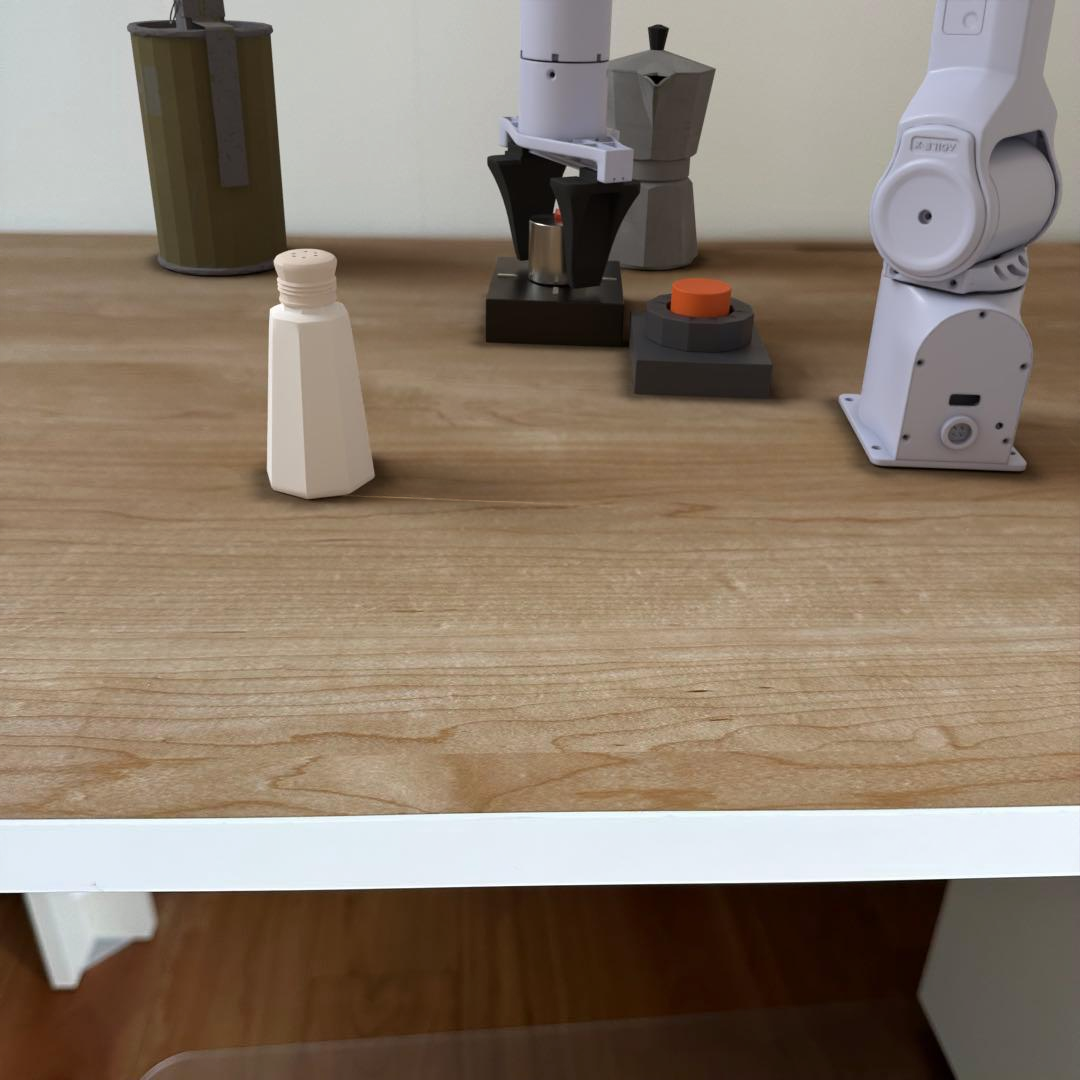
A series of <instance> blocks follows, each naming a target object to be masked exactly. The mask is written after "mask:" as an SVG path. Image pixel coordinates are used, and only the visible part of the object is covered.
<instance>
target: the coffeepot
mask: <svg viewBox="0 0 1080 1080" xmlns="http://www.w3.org/2000/svg"><path fill="white" fill-rule="evenodd" d="M647 32H648V44H649V49H647V50H643V51H639V52H635V53H632V54H628V55H625V56H621V57H617V58H614V59H609V80H608V99H607V119H606V127H608V128H612V129H615V130H618V131H620V136H619V141H618V142H620V143H621V144H622V145H624V146H626V147H629V148H632V149H633V150H634V155H633V170H632V179H635V180H638V181H640V183H641V187H640V194H639V195H638V196H637V198H636V199H635V201H634V202H633V204H632V205H631V207H630V208H629V210H628V212H627V213H626V215H625V217H624V219H623V221H622V223H621V225H620V227H619V230H618V232H617V234H616V237H615V240H614V243H613V245H612V248H611V252H610V255H609V258H608V261H620V268H623V269H630V270H640V271H641V270H645V271H646V270H647V271H658V270H659V271H662V270H672V269H673V270H674V269H678V268H683V267H686V266H688V265H690V264H692V263H693V262H694V259H695V258H696V257H698V256H699V250H698V237H697V226H696V225H697V223H696V211H695V199H694V198H695V197H694V183H693V181H692V180H691V178H690V177H689V176H690V170H691V169H690V167H691V158H693V157H694V156H695V155H696V154H698V149H699V145H700V140H701V135H702V131H703V127H704V122H705V119H706V114H707V110H708V105H709V101H710V97H711V92H712V87H713V83H714V79H715V76H716V75H715V74H716V71H717V69H716V67H713V66H710V65H708V64H704V63H702V62H699V61H696V60H693V59H690V58H687V57H685V56H682V55H680V54H676V53H673V52H670V51H668V50H665V47H666V43H667V39H668V35H669V32H670V27H668V26H666V25H663V24H659V23H658V24H656V23H655V24H654V25H650V26H648V27H647Z"/></svg>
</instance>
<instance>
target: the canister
mask: <svg viewBox="0 0 1080 1080" xmlns="http://www.w3.org/2000/svg"><path fill="white" fill-rule="evenodd" d="M225 10H226V9H225V2H224V0H173V3H172V6H171V9H170V12H169V19H154V20H153V19H151V20H141V21H134V22H128V24H127V25H126V30H127V32H129V36H130V41H131V42H130V43H131V49H132V55H133V56H132V57H133V64H134V71H135V79H136V87H137V93H138V101H139V109H140V115H141V125H142V131H143V138H144V146H145V153H146V161H147V167H148V168H147V169H148V176H149V185H150V191H151V197H152V205H153V212H154V219H155V220H154V221H155V226H156V228H155V229H156V234H157V235H156V236H157V241H158V251H159V253H158V254H157V262H158V263H159V265H160V266H161V267H163V268H164V269H167V270H170V271H172V272H176V273H179V274H186V275H193V276H227V277H228V276H236V275H237V276H238V275H246V274H254V273H261V272H265V271H270V270H273V269H275V266H274V259H275V258H276V256H277V255H279V254H281V253H283V252H286V251H289V250H290V249H289V247H288V242H287V229H286V228H287V227H286V217H285V216H286V215H285V203H284V189H283V188H284V187H283V177H282V165H281V164H282V163H281V151H280V139H279V137H280V136H279V126H278V124H279V123H278V110H277V99H276V98H277V97H276V87H275V73H274V72H275V71H274V60H273V59H274V58H273V47H272V34H273V32H274V28H273V25H272V24H269V23H266V22H259V21H250V20H249V21H248V20H229V19H228V20H227V19H226V11H225ZM173 11H174V13H173ZM172 15H173V17H172Z"/></svg>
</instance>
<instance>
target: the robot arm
mask: <svg viewBox="0 0 1080 1080" xmlns="http://www.w3.org/2000/svg"><path fill="white" fill-rule="evenodd" d="M1056 1H1057V0H935V8H934V15H933V23H932V24H933V25H932V31H931V39H930V46H929V54H928V62H927V68H926V74H925V77H924V79H923V80H922V83H921V84H920V86H919V88H918V89H917V91H916V93H915V94H914V95H913V97H912V99H911V101H910V102H909V104H908V105H907V107H906V108H905V110H904V112H903V114H902V116H901V118H900V119H899V122H898V123H897V129H896V138H895V144H894V149H893V152H892V156H891V159H890V160H889V163H888V165H887V167H886V169H885V171H884V172H883V174H882V175H881V176H880V178H879V180H878V181H877V183H876V185H875V188H874V190H873V193H872V195H871V199H870V203H869V211H868V212H869V213H868V221H869V224H868V225H869V229H870V230H869V231H870V235H871V238H872V241H873V244H874V247H875V248H876V250H877V252H878V254H879V255H880V257H881V258H882V259H883V262H882V268H881V269H882V270H881V274H880V281H879V287H878V291H877V298H876V302H875V303H876V304H875V308H874V309H875V310H874V316H873V321H872V326H871V327H872V328H871V333H870V339H869V345H868V351H867V357H866V363H865V368H864V373H863V379H862V386H861V392H860V394H859V393H842V394H840V395H839V396H838V404H839V405H840V407H841V409H842V411H843V413H844V415H845V416H846V418H847V421H848V422H849V424H850V426H851V428H852V429H853V431H854V434H855V436H856V437H857V439H858V440H859V443H860V444H861V446H862V448H863V449H864V452H865V454H866V456H867V457H868V459H869V461H870V463H871V464H873V465H875V466H880V467H897V468H898V467H900V468H923V469H925V468H926V469H946V470H947V469H948V470H972V471H973V470H974V471H976V470H977V471H997V472H998V471H999V472H1023V471H1025V470H1026V468H1027V463H1028V462H1027V461H1026V460H1025V459H1024V457H1023V456H1022V455H1021V454H1020V452H1019V451H1018V450H1017V448H1015V447H1014V442H1015V436H1016V435H1017V434H1016V433H1017V430H1018V425H1019V421H1020V417H1021V413H1022V409H1023V405H1024V400H1025V397H1026V392H1027V388H1028V384H1029V381H1030V377H1031V372H1032V368H1033V362H1034V348H1033V342H1032V339H1031V336H1030V334H1029V331H1028V330H1027V327H1026V326H1025V325H1024V324H1025V323H1023V320H1022V316H1021V308H1022V304H1023V299H1024V295H1025V291H1026V286H1027V281H1028V276H1029V273H1030V269H1029V266H1030V263H1029V259H1028V258H1029V257H1028V246H1030V245H1032V244H1033V243H1034V242H1036V241H1037V240H1039V239H1040V238H1041V237H1042V235H1045V233H1046V232H1047V230H1048V229H1049V228H1050V227H1051V225H1052V224H1053V222H1054V220H1055V218H1056V217H1057V215H1058V213H1059V209H1060V207H1061V203H1062V197H1063V178H1062V172H1061V168H1060V166H1059V162H1058V160H1057V156H1056V151H1055V132H1056V125H1057V120H1058V110H1057V107H1056V104H1055V101H1054V99H1053V97H1052V94H1051V91H1050V89H1049V87H1048V85H1047V82H1046V80H1045V77H1044V72H1045V71H1044V70H1045V66H1046V65H1045V64H1046V59H1047V52H1048V47H1049V41H1050V35H1051V31H1052V23H1053V17H1054V12H1055V7H1056ZM519 3H520V5H519V53H518V54H519V61H518V63H519V65H518V66H519V67H518V115H513V116H499V118H498V119H499V120H498V121H499V122H498V123H499V124H498V130H499V131H498V145H499V146H500V147H503V148H506V149H507V150H504V154H492V155H489V156H487V157H486V163H487V164H486V165H487V168H488V169H489V171H490V173H491V174H492V177H493V178H494V181H495V183H496V186H497V188H498V190H499V193H500V195H501V199H502V201H503V204H504V205H503V206H504V208H505V212H506V217H507V220H508V226H509V230H510V236H511V241H512V244H513V249H514V254H515V257H517V259H518V260H520V261H526V260H528V257H529V219H530V217H532V216H534V215H538V214H545V213H555V212H554V211H555V205H556V203H557V206H558V209H559V210H560V214H561V219H562V224H563V230H564V238H565V257H566V272H567V278H568V282H569V286H570V287H572V288H574V289H578V288H587V287H595V286H600V284H601V281H602V278H603V275H604V271H605V268H606V265H607V261H608V258H609V255H610V252H611V248H612V245H613V243H614V240H615V237H616V234H617V232H618V230H619V227H620V225H621V223H622V221H623V219H624V217H625V215H626V213H627V212H628V210H629V208H630V207H631V205H632V204H633V202H634V201H635V199H636V198H637V196H638V195H639V194H640V187H641V183H640V181H638V180H635V179H632V170H633V155H634V150H633V149H632V148H629V147H626V146H624V145H622V144H621V143H620V142H618V141H619V136H620V131H618V130H615V129H612V128H608V127H606V119H607V99H608V80H609V61H610V59H611V58H610V57H611V55H610V54H611V37H612V17H613V0H519ZM567 167H569V168H572V169H575V170H577V171H578V176H577V175H572V176H564V174H565V171H566V169H567Z"/></svg>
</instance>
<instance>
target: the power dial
mask: <svg viewBox="0 0 1080 1080" xmlns="http://www.w3.org/2000/svg"><path fill="white" fill-rule="evenodd" d="M554 211H555V212H553V213H545V214H538V215H534V216H532V217H530V219H529V257H528V277H529V279H530V280H532V281H534V282H537V283H540V284H546V285H558V286H562V285H569V282H568V278H567V272H566V257H565V238H564V230H563V224H562V219H561V214H560V210H559V208H555V210H554Z"/></svg>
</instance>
